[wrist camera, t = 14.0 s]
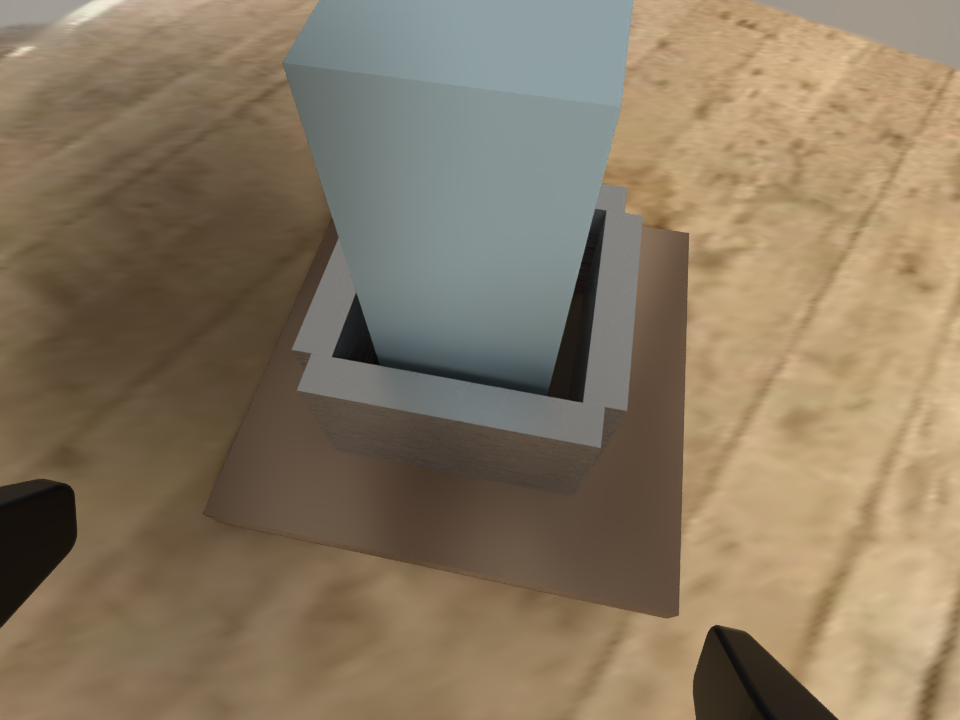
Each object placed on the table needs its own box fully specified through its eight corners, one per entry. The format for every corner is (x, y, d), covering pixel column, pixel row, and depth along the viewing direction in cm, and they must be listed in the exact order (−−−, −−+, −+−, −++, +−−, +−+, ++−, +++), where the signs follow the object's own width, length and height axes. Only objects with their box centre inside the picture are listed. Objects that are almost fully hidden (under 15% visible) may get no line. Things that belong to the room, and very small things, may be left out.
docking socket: (680, 251, 21) (732, 143, 17) (667, 618, 15) (744, 598, 11) (353, 200, 22) (322, 87, 18) (217, 521, 16) (122, 468, 12)
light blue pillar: (557, 308, 19) (641, -70, 9) (538, 430, 17) (621, 107, 7) (427, 286, 19) (376, -97, 10) (392, 403, 17) (282, 62, 7)
